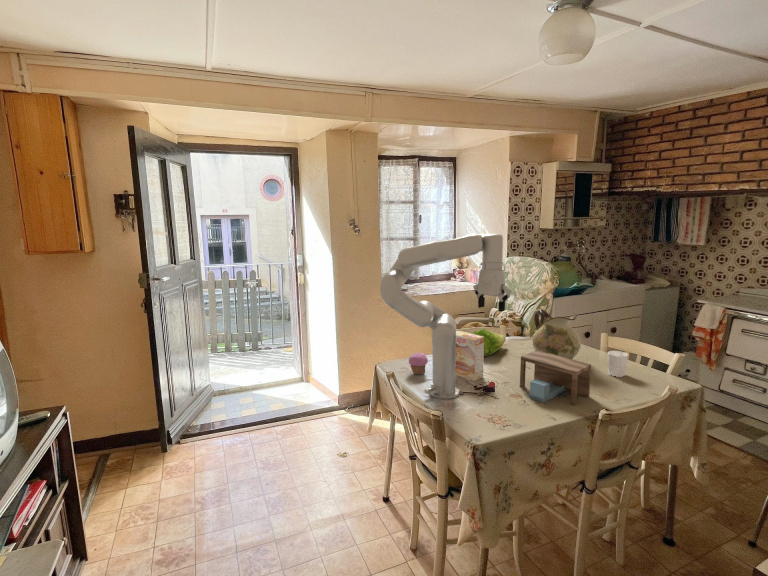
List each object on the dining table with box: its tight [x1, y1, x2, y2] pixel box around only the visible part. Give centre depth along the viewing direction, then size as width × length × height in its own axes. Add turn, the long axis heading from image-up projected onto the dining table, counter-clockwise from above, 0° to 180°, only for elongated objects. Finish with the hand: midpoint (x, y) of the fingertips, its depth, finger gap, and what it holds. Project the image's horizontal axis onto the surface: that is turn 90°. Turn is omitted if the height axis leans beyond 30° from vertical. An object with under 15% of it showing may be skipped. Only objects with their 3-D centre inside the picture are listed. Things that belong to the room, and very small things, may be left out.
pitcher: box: [531, 308, 582, 360], centre depth 207 cm, size 22×24×25 cm
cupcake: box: [408, 352, 429, 376], centre depth 195 cm, size 9×9×10 cm
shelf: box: [519, 350, 592, 406], centre depth 172 cm, size 12×24×14 cm, turn 39°
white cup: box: [607, 350, 629, 378], centre depth 189 cm, size 8×8×10 cm
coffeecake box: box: [456, 330, 485, 382], centre depth 191 cm, size 15×7×20 cm, turn 42°
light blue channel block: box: [529, 379, 565, 403], centre depth 170 cm, size 16×6×7 cm, turn 129°
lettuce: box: [471, 328, 506, 357], centre depth 224 cm, size 14×24×15 cm
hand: (491, 309), depth 164 cm, fingers open, 9 cm apart
